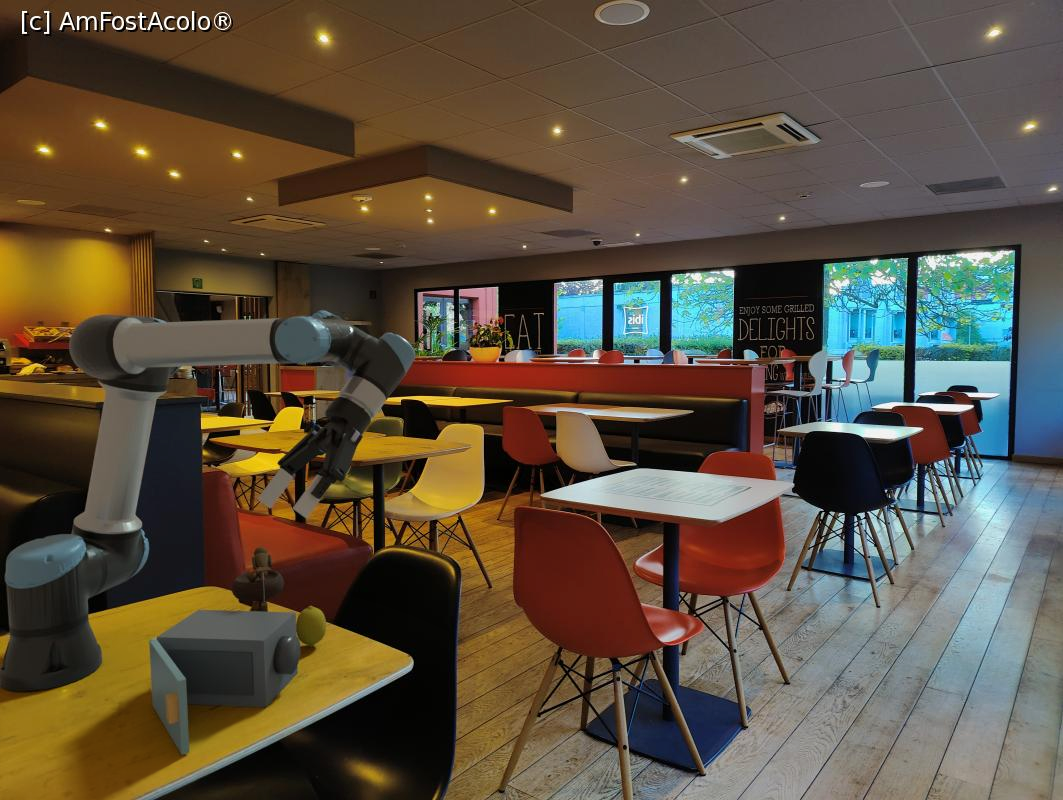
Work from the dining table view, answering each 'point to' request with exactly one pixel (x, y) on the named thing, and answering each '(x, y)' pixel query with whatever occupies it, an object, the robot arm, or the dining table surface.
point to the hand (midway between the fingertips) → (280, 508)
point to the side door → (169, 695)
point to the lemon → (311, 626)
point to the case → (234, 655)
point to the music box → (258, 583)
